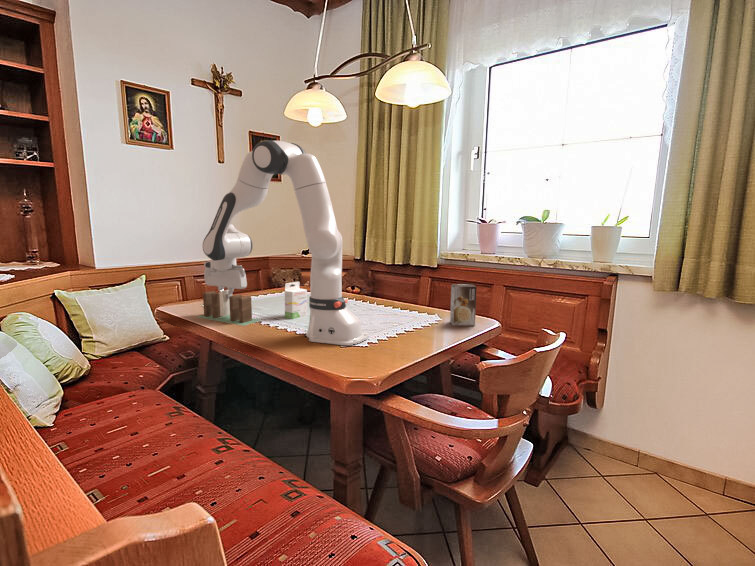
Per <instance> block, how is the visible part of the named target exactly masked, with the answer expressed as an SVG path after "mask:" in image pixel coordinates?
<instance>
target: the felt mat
mask: <svg viewBox="0 0 755 566" xmlns="http://www.w3.org/2000/svg"><path fill="white" fill-rule="evenodd" d="M197 318H198V319H203V320H204V319H205V320H211V321H215V322H221V323H227V324H232V325H237V326H238V325H239V326H242V327H245V326H248V325H251V324H254V323H257V322H260V321H262V319H258V318H253V317H252V321H248V322H245V323H239V320H237V321H230V315H227V316H223V317H219V318H213V316H209V317H205V316H204V314H201V315H198V316H197Z"/></svg>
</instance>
